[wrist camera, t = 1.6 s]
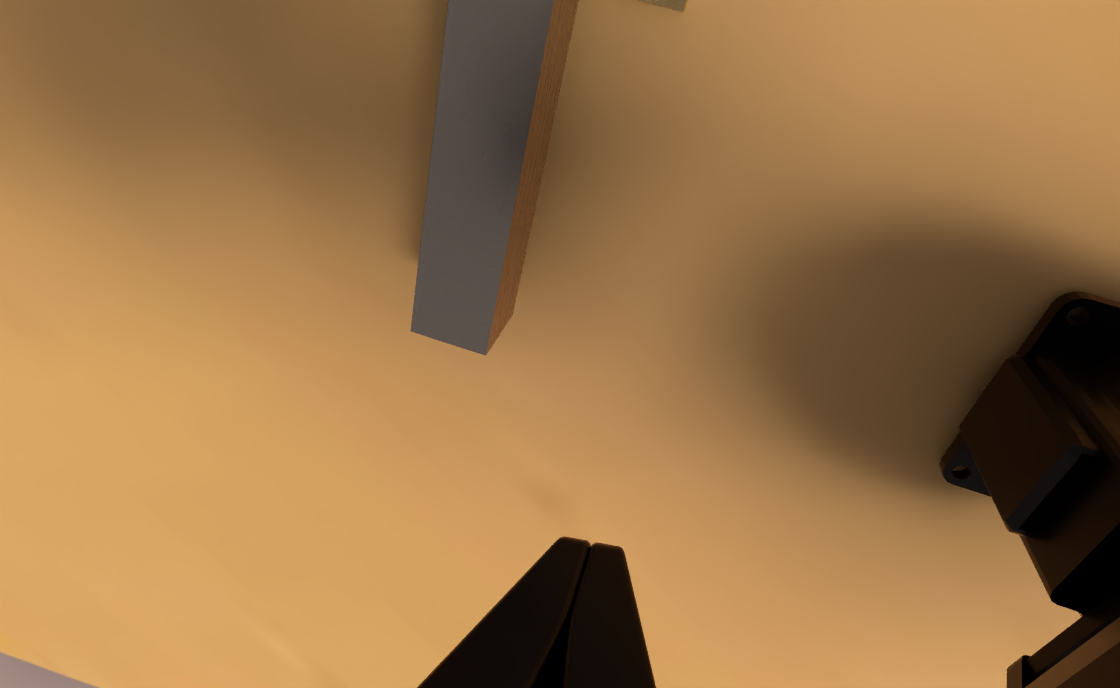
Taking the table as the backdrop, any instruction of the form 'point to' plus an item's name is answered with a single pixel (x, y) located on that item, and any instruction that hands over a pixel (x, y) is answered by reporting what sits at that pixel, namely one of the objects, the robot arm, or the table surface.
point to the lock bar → (487, 162)
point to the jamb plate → (669, 4)
